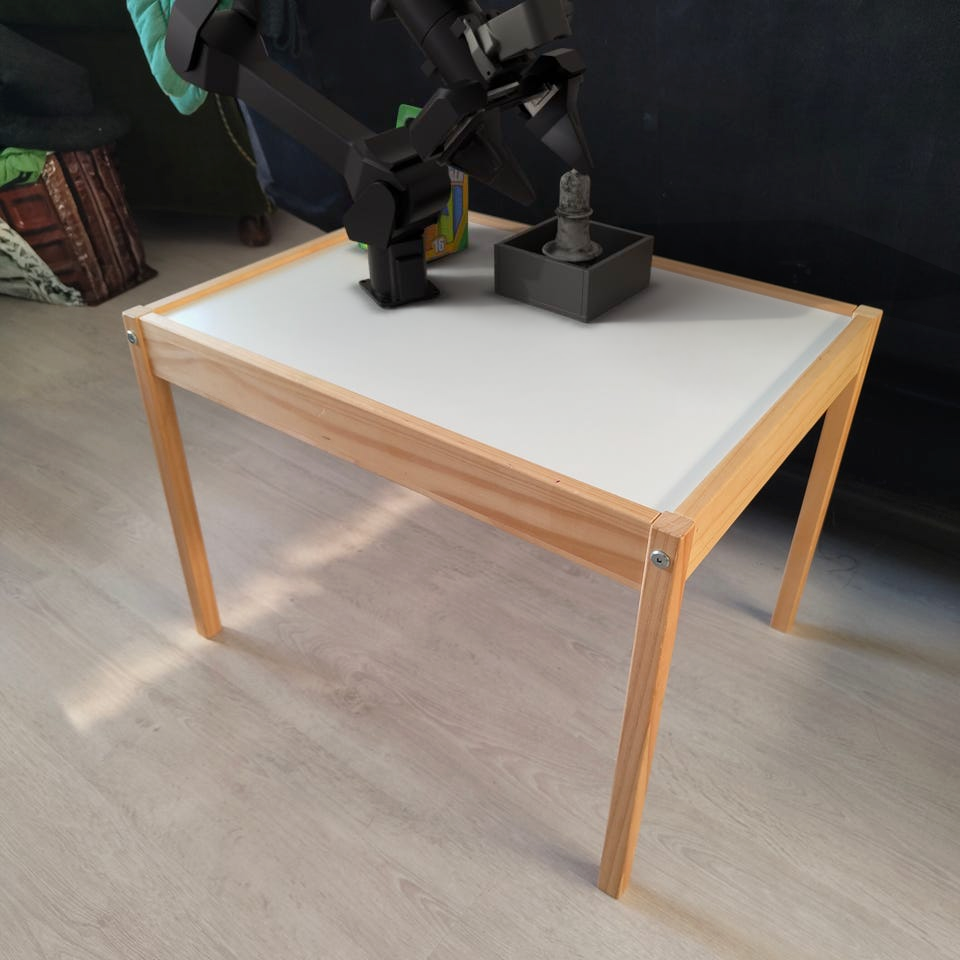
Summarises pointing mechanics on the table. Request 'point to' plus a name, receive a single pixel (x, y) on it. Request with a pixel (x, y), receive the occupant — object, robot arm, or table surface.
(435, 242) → the chalk box
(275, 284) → the table surface
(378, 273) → the robot arm
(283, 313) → the table surface
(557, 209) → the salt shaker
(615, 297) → the basket
